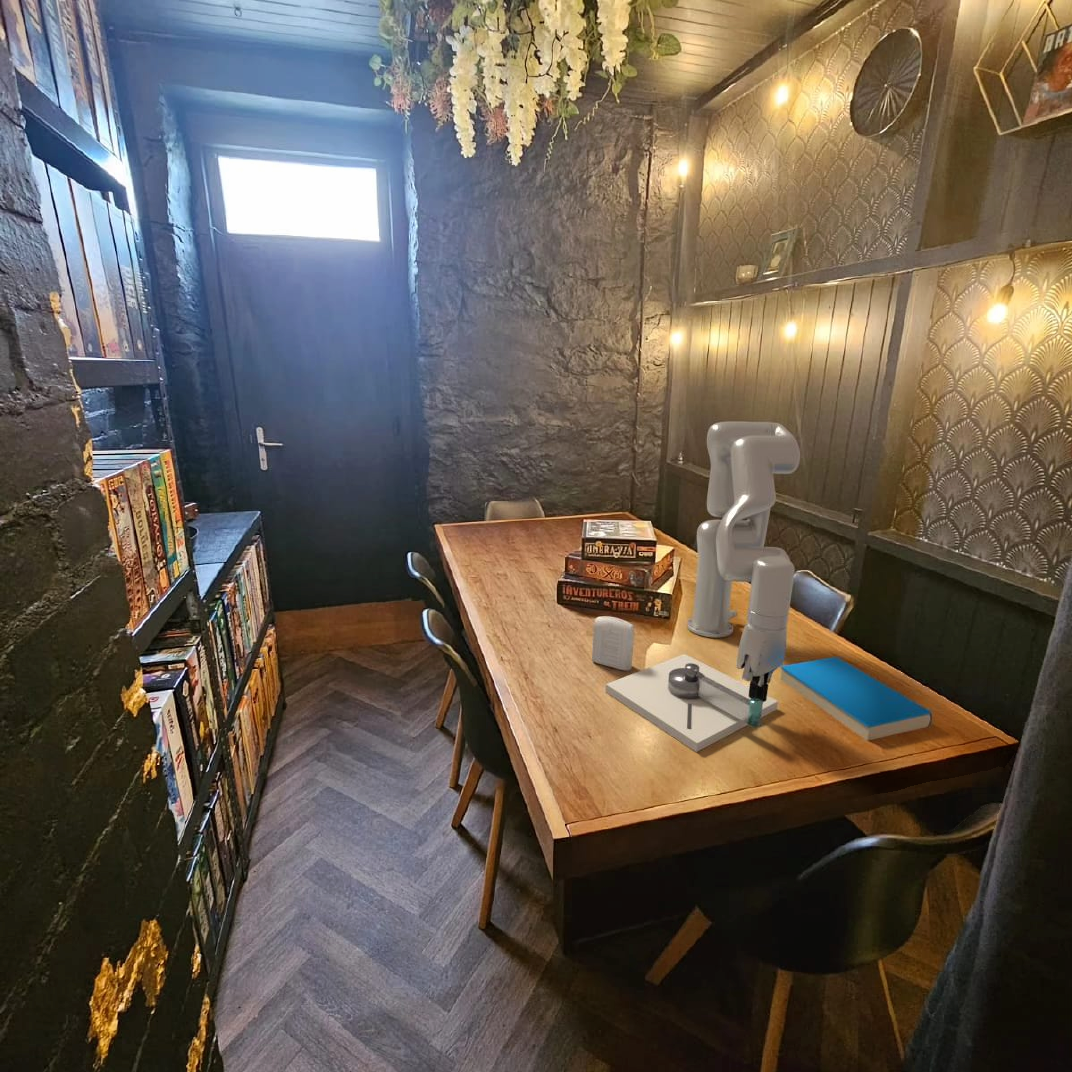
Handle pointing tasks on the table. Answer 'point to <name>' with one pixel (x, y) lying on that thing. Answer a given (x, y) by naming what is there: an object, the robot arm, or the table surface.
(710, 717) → the stand base
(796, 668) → the book
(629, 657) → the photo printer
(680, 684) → the crank handle
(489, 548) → the table surface
